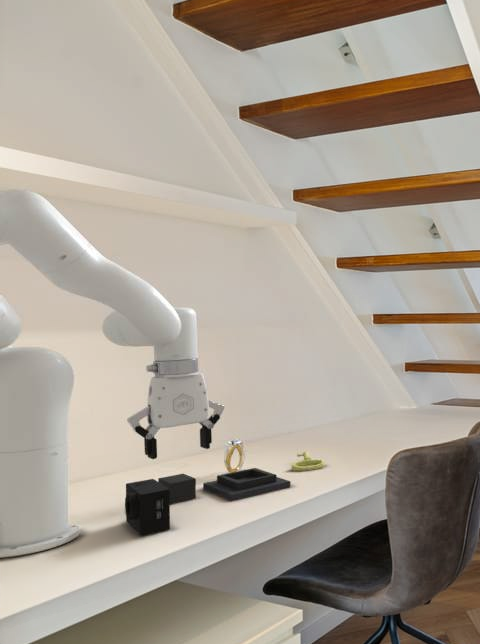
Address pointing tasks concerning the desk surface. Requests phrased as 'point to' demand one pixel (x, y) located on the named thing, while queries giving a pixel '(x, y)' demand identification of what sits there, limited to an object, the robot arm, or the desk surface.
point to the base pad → (245, 484)
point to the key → (307, 463)
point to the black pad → (180, 487)
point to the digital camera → (147, 506)
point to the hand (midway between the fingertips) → (179, 452)
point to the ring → (229, 454)
